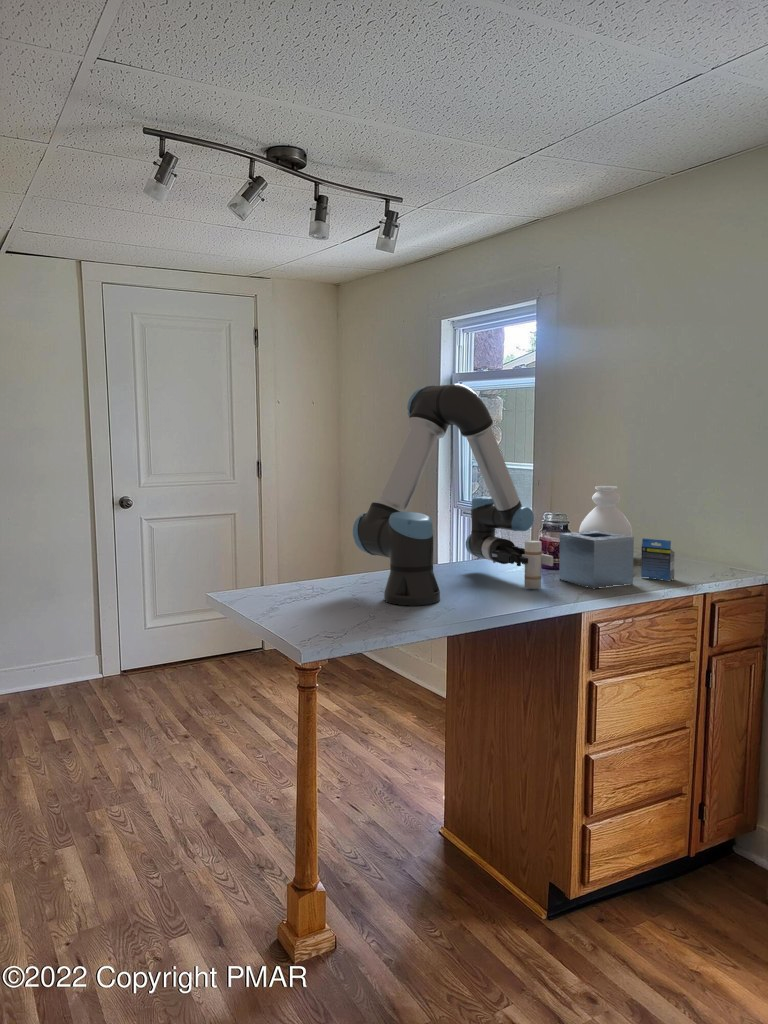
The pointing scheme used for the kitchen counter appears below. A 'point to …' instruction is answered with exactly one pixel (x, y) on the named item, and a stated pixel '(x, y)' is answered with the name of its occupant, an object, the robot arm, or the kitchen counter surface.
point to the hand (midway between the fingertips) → (544, 561)
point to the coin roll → (532, 573)
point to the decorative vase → (606, 513)
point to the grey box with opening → (596, 558)
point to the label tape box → (657, 559)
